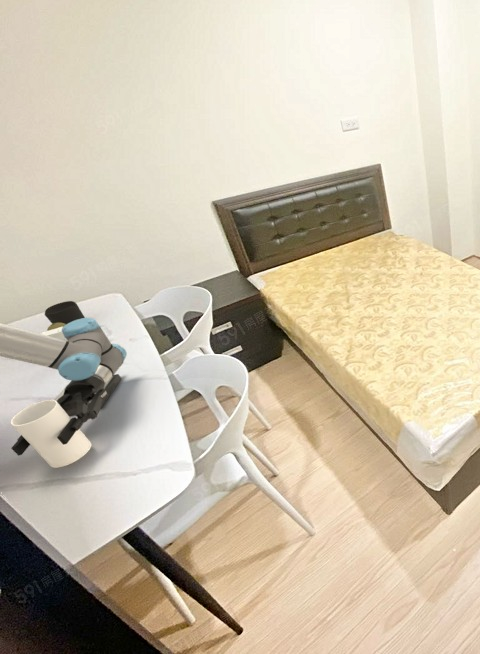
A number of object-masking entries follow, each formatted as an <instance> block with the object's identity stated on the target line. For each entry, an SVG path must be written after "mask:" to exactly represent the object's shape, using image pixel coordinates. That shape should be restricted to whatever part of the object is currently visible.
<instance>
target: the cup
mask: <svg viewBox="0 0 480 654" xmlns="http://www.w3.org/2000/svg"><path fill="white" fill-rule="evenodd" d="M71 418H72V417H71V416H68V414H67V413H66V412H65V411H64V410H63V408H62V407H61V406H60V405H59V404H58V402H57V401H55V399H46V400H42V401H39V402H35V403H32V404H31V405H29V406H27V407H25V408H23V409H22V410H20V411H18V413H16V414H15V415H14V416H13V417H12V418H11V420H10V424H11V426H12V427H13V428H14V429H15V430H16V431H17V432H18V433H19V434H20V436H21V435H22V436H23V437H24V438H25V439H26V440H27V441H28V443H29V444H30V446H31V447H32V448H33V449H34V450H35V451H36V452H37V453H38V455H39V456H40V457H41V458H42V459H43V460H44V461H45V462H46V463H47V464H48V465H49V467H51V468H55V469H56V468H63V467H66V466H68V465H71V464H73V463H75V462H77V461H78V460H80V459H81V458H83V457H84V456H85V455H86V454H87V453H88V452H89V451H90V449H91V448H92V442H91V441H90V439H88V437H87V436H86V435H85V433H84V432H83V431H82V430H81V428H80V429H79V430H78V431H76V432H75V433H74V435H73V436H72V437H71V439H70V440H69V442H68V443H67V444H64V445H63V444H62V443H61V442H60V440H59V439H58V438H57V437H58V435H59V434H60V433H61V432H62V430H63V429H64V428H65V426H66V425H67V424H68V422H69V421H70V420H71Z"/></svg>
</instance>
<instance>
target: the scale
mask: <svg viewBox="0 0 480 654" xmlns="http://www.w3.org/2000/svg"><path fill="white" fill-rule="evenodd" d="M122 380H123V379H122V377H121V376H120V374H119V373H115V374H114V375H113V376H112V378H111V379H110V381H109V382H108V383H107V385H106V386H105V387H104V390H105V391H106V393H107V394H108V396H107V397H106V398H105V400H104V401H103V403H102V406H101V408H100V410H101V409H102V408H103V407H104V405H105V404H106V402H107V401H108V399H109V398H110V396H111V395H112V393H113V392H114V391H115V389H116V388H117V386H118V385H119V383H120V382H121V381H122ZM65 388H66V386H65V387H64V388H63V389H62V390H61V392H60V393H59V394H58V395H57V396H56V398H55V399H54V400H55V401H57V400H58V399H59V398H60V397H62V396H63V395H64V390H65ZM90 403H91V401H89V404H88V408H89V405H90ZM88 408H87V410H88ZM66 413H67V414H68V416H69V417H71V416H76V415H77V408H76V409H71V410H69V411H67V412H66ZM75 414H76V415H75Z"/></svg>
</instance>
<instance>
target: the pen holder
mask: <svg viewBox="0 0 480 654" xmlns="http://www.w3.org/2000/svg"><path fill="white" fill-rule="evenodd" d="M44 316H45V317H46V319H47V320H48V321H49V322H50V323H51V325H52V324H54V323H64V324H68V323H70V322H72V321H75V320H78V319H82V318H86V317H85V315H84V314H83V312H82V310H81V308H80V307H79V305H78V304H77V303H76V302H75V301H73V300H66V301H62V302H59V303H56V304H55V303H54V304H53V305H51V306H49V307H47V308H46V309H45V311H44Z"/></svg>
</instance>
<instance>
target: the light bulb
mask: <svg viewBox="0 0 480 654" xmlns="http://www.w3.org/2000/svg"><path fill="white" fill-rule="evenodd" d="M65 325H66V324H64V323H54V324H52V323H51V324H50V325H49V326H48V327H47V330H46V331H49V330H52V329H56V328H59V327H64V326H65Z"/></svg>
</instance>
